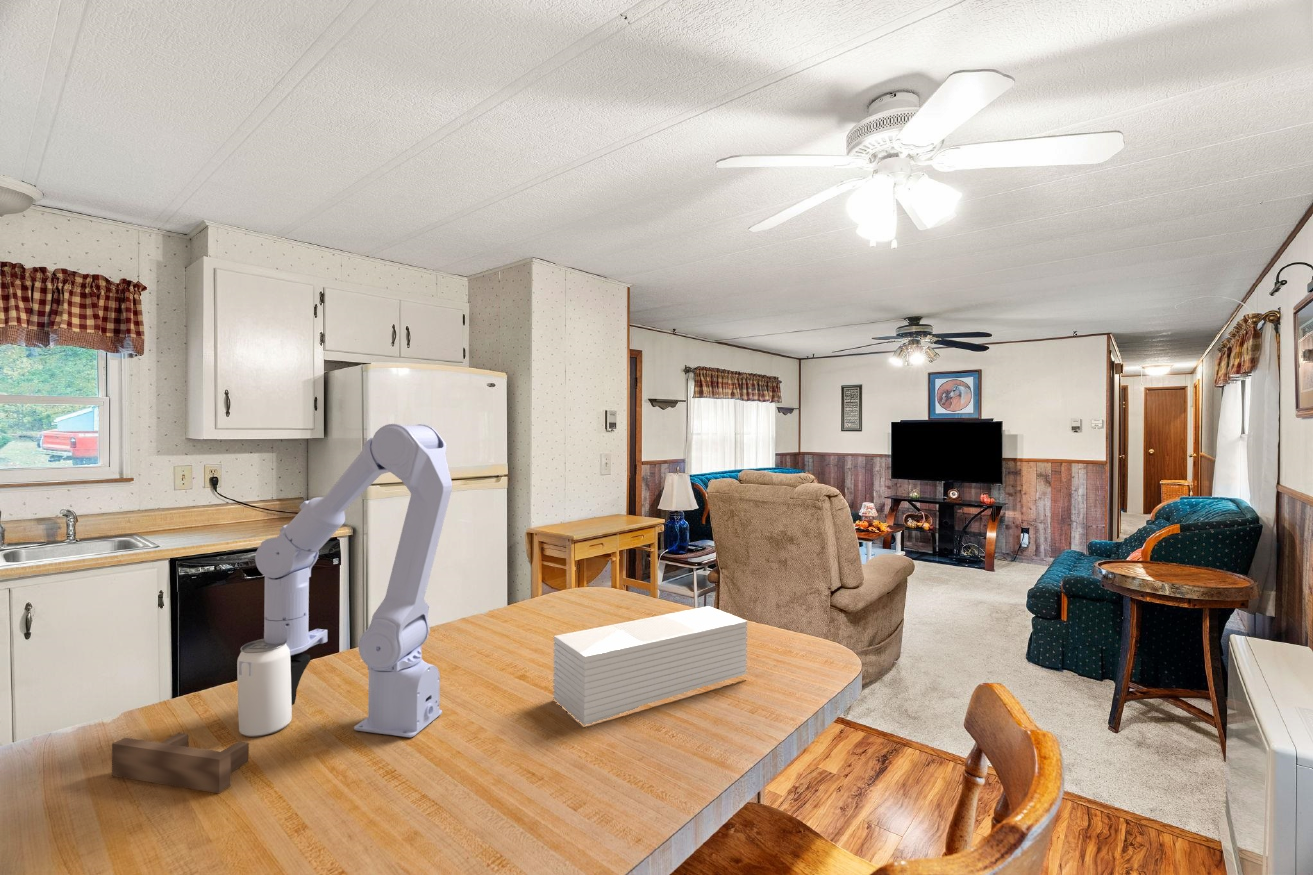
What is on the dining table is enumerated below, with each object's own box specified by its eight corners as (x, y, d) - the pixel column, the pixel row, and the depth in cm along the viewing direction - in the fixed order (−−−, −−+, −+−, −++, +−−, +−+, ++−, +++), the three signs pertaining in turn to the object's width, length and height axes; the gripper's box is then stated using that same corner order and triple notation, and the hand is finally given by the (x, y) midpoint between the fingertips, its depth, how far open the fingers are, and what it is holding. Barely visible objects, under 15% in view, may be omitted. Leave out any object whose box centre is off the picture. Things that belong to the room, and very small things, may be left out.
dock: (264, 764, 79) (265, 733, 79) (219, 793, 73) (219, 759, 73) (164, 749, 82) (164, 719, 82) (111, 775, 76) (112, 743, 76)
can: (269, 739, 85) (267, 654, 85) (227, 736, 86) (225, 651, 85) (302, 717, 91) (300, 637, 91) (262, 714, 92) (260, 635, 92)
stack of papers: (708, 662, 117) (708, 605, 116) (746, 681, 108) (747, 620, 108) (553, 702, 99) (553, 635, 98) (583, 729, 90) (584, 656, 90)
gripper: (301, 600, 100) (300, 682, 100) (221, 627, 86) (220, 724, 86) (339, 603, 99) (338, 687, 99) (263, 632, 84) (262, 730, 85)
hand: (285, 705), depth 92 cm, fingers closed
